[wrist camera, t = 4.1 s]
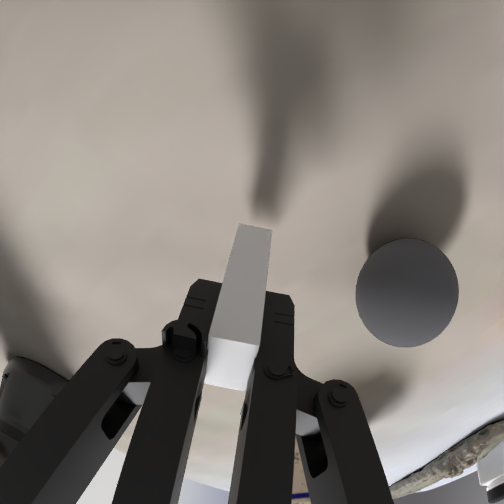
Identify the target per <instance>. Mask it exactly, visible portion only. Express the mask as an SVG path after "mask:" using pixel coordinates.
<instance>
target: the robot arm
mask: <svg viewBox="0 0 504 504" xmlns="http://www.w3.org/2000/svg"><path fill="white" fill-rule="evenodd" d="M271 236H272V230H270V229H265V228H260V227H254V226H249V225H244V224H239V226H238V229H237V233H236V237H235V240H234V244H233V247H232V251H231V254H230V258H229V262H228V265H227V269H226V272H225V276H224V280H223V283H218V282H213V281H208V280H203V279H198V280H197V281H196V282H195V283H194V284H192V285H191V286H190V289H189V291H188V294H187V298H186V299H185V302H184V305H183V307H182V310H181V313H180V315H179V318H178V320H175V321H172V322H170V323H168V324H167V325H166V326H165V327H164V328H163V330H162V342H163V345H161V346H158V347H154V348H134V346H133V345H132V344H131V343H130V342H129V341H127V340H124V339H110V340H107V341H105V342H104V343H102V344H101V345H100V346H99V347H98V348H97V349H96V350H95V351H94V353H93V354H92V355H91V356H90V357H89V358H88V359H87V361H86V362H85V363H84V364H83V365H82V366H81V368H80V369H79V370H78V371H77V372H76V373H75V375H74V376H73V377H72V378H71V379H70V380H69V382H68V381H66V380H65V379H63V378H62V377H60V376H59V375H57V374H55V373H54V372H52V371H50V370H49V369H47V368H45V367H43V366H41V365H39V364H37V363H35V362H33V361H30V360H28V359H24V358H20V357H14V358H12V359H11V360H10V361H9V363H8V364H7V366H6V368H5V369H4V372H3V376H2V377H3V378H2V382H1V387H0V504H76V502H77V501H78V500H79V498H80V496H81V495H82V494H83V492H84V491H85V489H86V488H87V486H88V485H89V483H90V482H91V480H92V479H93V477H94V476H95V474H96V473H97V471H98V470H99V468H100V467H101V466H102V464H103V463H104V461H105V460H106V458H107V457H108V455H109V454H110V452H111V451H112V449H113V448H114V446H115V445H116V443H117V442H118V440H119V439H120V437H121V436H122V434H123V433H124V432H125V430H126V429H127V427H128V426H129V424H130V423H131V421H132V420H133V418H134V417H135V415H136V414H137V412H138V411H139V409H140V408H141V406H142V405H143V406H142V409H141V412H140V415H139V418H138V421H137V424H136V427H135V430H134V433H133V436H132V439H131V442H130V445H129V448H128V451H127V455H126V458H125V461H124V464H123V468H122V471H121V474H120V477H119V481H118V484H117V487H116V491H115V494H114V498H113V501H112V504H178V500H179V496H180V491H181V486H182V482H183V477H184V473H185V468H186V464H187V459H188V455H189V450H190V446H191V441H192V437H193V432H194V428H195V424H196V419H197V415H198V410H199V406H200V402H201V397H202V389H203V385H204V383H205V384H209V385H214V386H219V387H224V388H230V389H235V390H241V391H246V396H245V400H244V404H243V407H242V410H241V413H240V415H241V422H240V428H239V435H238V442H237V448H236V455H235V461H234V468H233V474H232V481H231V487H230V493H229V500H228V504H291V503H292V489H293V474H294V456H295V436H296V439H297V444H298V448H299V453H300V457H301V461H302V466H303V470H304V475H305V479H306V484H307V488H308V492H309V497H310V501H311V504H394V502H393V499H392V495H391V492H390V489H389V486H388V483H387V479H386V476H385V473H384V470H383V467H382V464H381V461H380V458H379V455H378V452H377V449H376V446H375V443H374V440H373V437H372V434H371V431H370V428H369V425H368V423H367V420H366V417H365V414H364V411H363V408H362V406H361V403H360V400H359V397H358V394H357V393H356V391H355V389H354V388H353V387H352V386H351V385H350V384H348V383H347V382H344V381H342V380H330V381H327V382H325V383H324V384H322V383H320V382H318V381H315V380H313V379H311V378H309V377H307V376H305V375H304V374H303V373H301V372H300V371H299V369H298V368H297V367H296V364H295V362H294V304H293V302H292V300H291V298H290V296H289V295H285V294H279V293H274V292H269V291H266V284H267V275H268V265H269V256H270V246H271Z"/></svg>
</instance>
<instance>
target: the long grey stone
mask: <svg viewBox="0 0 504 504" xmlns="http://www.w3.org/2000/svg"><path fill="white" fill-rule="evenodd" d="M503 440H504V420H503V421H501V422H497V423H495V424H493V425H488V426H486V428H484V429H482V430H480V431H479V432H477V433H476V434H474V435H472V436H470V437H468V438H466V439H464V440H462V441H461V442H460V443H458V444H457V445H456V446H454V447H452V448H450V449H448V450H446V451H445V452H444V453H443V454H441V455H439V457H438V458H437V459H435V460H433V461H432V462H431V463H429V464H427V465H426V466H425V467H424V468H423V470H421V471H418V472H416V473H412V474H411V475H410V476H409V477H408V478H406V479H403V480H400V481H398V482H397V483H395V484H393V485H392V486H391V487H389V489H390V492H391V495H392V499H394V498H398V497H402V496H406V495H408V494H412V493H415V492H417V491H419V490H421V489H423V488H425V487H427V486H429V485H432V484H434V483H436V482H438V481H439V480H441V479H443V478H448V477H450V478H453V477H455V476H458V475H461V474H462V473H463V470H464V469H466V468H469V467H471V466H472V465H474V464H475V463H476V462H478V461H479V460H480V459H482V458H484V457H486V456H487V455H488V453H489V452H490V451H491V450H493V449H494V448H495V447H496V446H497V445H498V444H499V443H500V442H501V441H503Z"/></svg>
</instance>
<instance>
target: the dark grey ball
mask: <svg viewBox="0 0 504 504" xmlns="http://www.w3.org/2000/svg"><path fill="white" fill-rule="evenodd" d="M458 295H459V288H458V280H457V276H456V273H455V270H454V268H453V266H452V264H451V262H450V261H449V259H448V258H447V257H446V255H445V254H444V253H443V252H442V251H440V250H439V249H438V248H437V247H435V246H434V245H432V244H430V243H428V242H425V241H423V240H418V239H410V238H408V239H399V240H395V241H392V242H389V243H387V244H385V245H383V246H382V247H380V248H379V249H377V250H376V251H375V252H374V253H373V254H372V255H371V256H370V257H369V258H368V259H367V261H366V262H365V264H364V266H363V268H362V269H361V271H360V274H359V277H358V280H357V285H356V305H357V309H358V312H359V316H360V318H361V320H362V322H363V323H364V325H365V326H366V328H367V329H368V330H369V332H370V333H372V334H373V335H374V336H375V337H376V338H377V339H379V340H381V341H382V342H384V343H386V344H389V345H392V346H395V347H415V346H419V345H422V344H425V343H427V342H429V341H431V340H433V339H434V338H435V337H437V336H438V335H439V334H440V333H441V332H442V331H443V330H444V329H445V328H446V327H447V325H448V324H449V323H450V321H451V319H452V317H453V315H454V313H455V310H456V307H457V303H458Z"/></svg>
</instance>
